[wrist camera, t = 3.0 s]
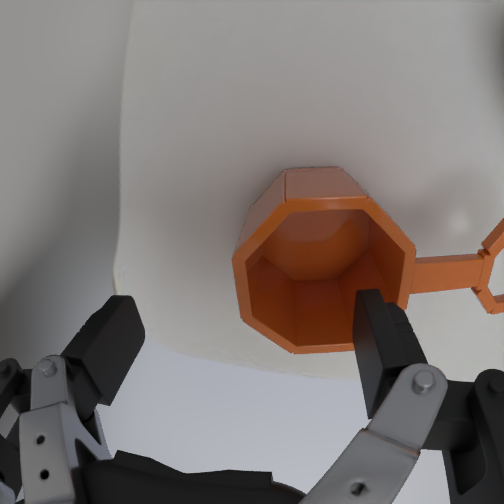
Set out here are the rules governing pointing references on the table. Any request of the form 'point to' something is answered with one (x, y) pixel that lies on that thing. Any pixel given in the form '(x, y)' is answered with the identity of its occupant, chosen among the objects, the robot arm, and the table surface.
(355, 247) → the orange cup
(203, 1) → the table surface
